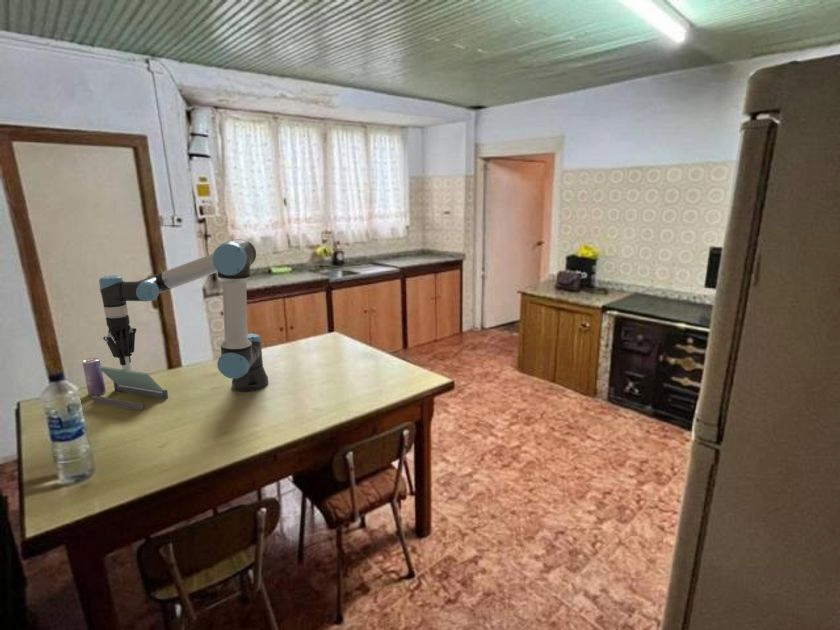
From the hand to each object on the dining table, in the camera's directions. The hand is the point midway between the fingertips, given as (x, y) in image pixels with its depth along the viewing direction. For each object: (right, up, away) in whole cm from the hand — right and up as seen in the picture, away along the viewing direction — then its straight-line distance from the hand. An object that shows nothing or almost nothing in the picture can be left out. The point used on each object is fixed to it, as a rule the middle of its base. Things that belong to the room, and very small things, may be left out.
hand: (127, 371), depth 184 cm
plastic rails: (0, -12, +2) cm, 12 cm away
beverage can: (-17, -10, +7) cm, 21 cm away
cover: (0, -4, +2) cm, 4 cm away
